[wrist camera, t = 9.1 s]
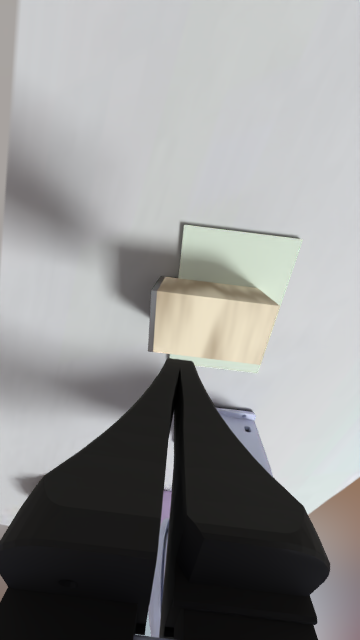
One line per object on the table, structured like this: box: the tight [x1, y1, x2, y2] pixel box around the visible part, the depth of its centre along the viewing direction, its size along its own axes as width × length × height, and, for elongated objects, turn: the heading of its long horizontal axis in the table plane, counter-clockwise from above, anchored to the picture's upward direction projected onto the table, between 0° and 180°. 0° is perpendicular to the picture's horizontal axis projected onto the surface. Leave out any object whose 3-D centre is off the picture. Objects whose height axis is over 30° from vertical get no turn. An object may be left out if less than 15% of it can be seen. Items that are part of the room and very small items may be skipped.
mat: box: [170, 225, 303, 373], centre depth 19 cm, size 10×14×1 cm
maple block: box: [148, 276, 280, 365], centre depth 17 cm, size 5×5×9 cm
